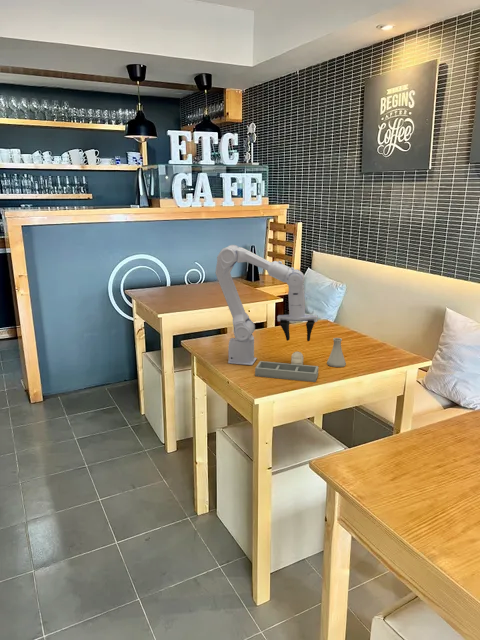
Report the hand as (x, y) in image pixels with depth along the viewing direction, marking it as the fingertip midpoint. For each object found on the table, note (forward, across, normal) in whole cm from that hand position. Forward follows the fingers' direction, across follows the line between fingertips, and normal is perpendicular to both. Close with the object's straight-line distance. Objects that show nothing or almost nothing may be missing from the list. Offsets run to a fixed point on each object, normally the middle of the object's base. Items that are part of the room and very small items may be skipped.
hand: (298, 340), depth 181 cm
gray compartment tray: (+10, +2, +11) cm, 15 cm away
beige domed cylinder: (+10, +1, 0) cm, 10 cm away
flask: (+11, -13, -6) cm, 18 cm away
